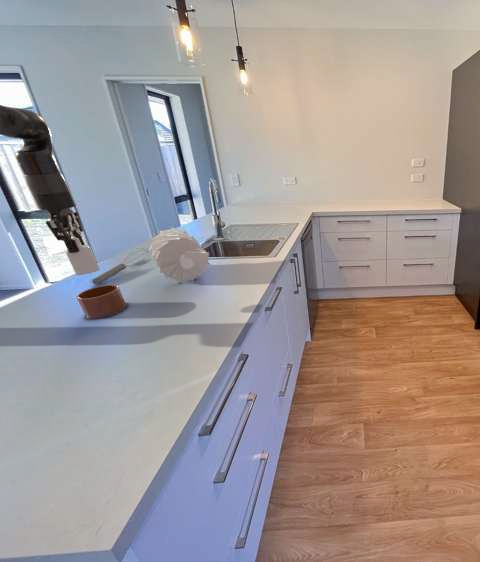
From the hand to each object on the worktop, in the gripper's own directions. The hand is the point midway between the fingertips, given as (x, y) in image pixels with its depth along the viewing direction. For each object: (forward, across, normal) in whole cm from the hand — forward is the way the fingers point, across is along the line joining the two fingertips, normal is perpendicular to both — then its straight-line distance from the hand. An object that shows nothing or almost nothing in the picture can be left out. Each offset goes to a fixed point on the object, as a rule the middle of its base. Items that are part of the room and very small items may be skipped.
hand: (77, 249), depth 89 cm
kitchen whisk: (+21, -41, -4) cm, 46 cm away
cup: (+21, 0, 0) cm, 21 cm away
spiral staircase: (+21, -24, +20) cm, 38 cm away
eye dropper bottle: (+7, 0, 0) cm, 7 cm away
